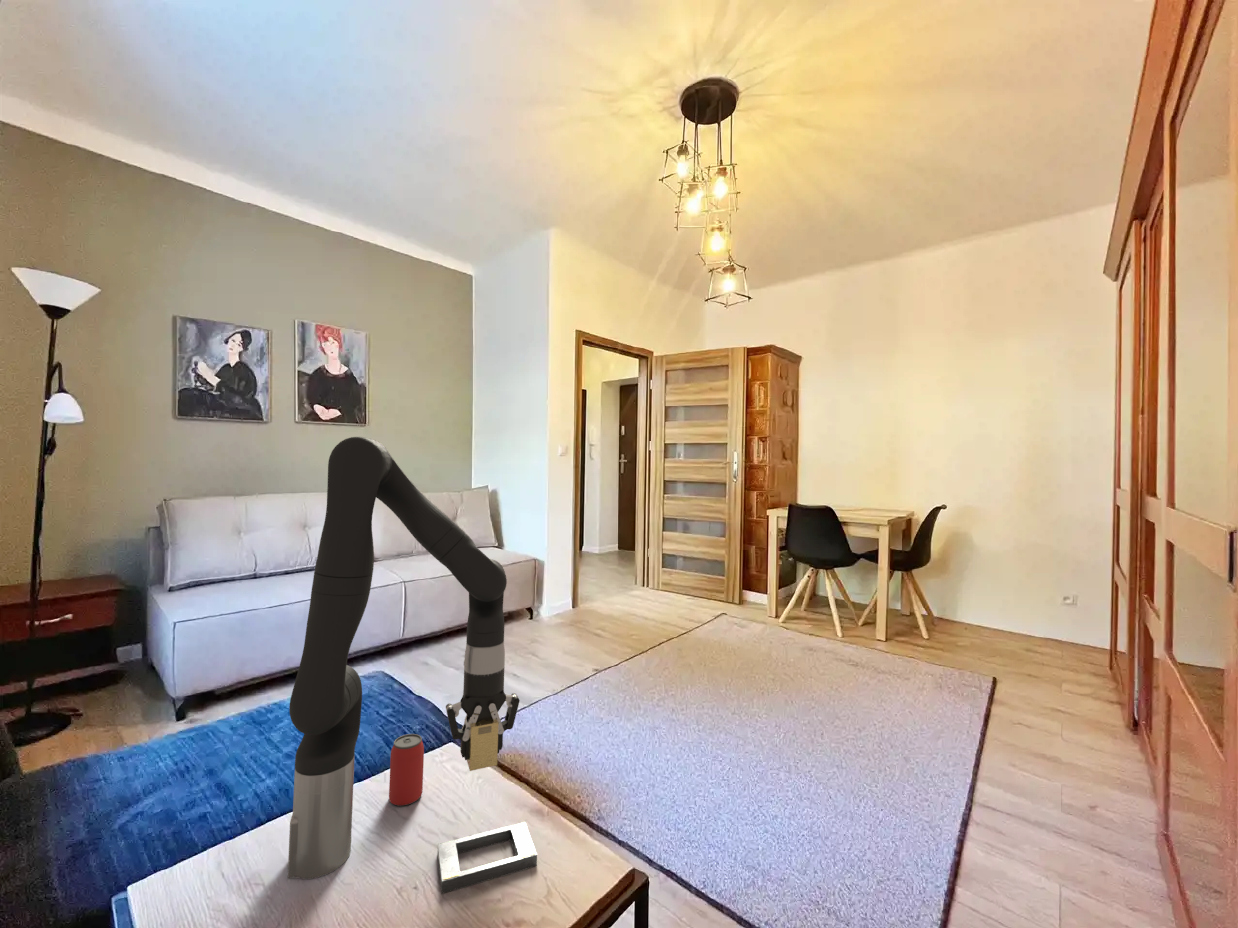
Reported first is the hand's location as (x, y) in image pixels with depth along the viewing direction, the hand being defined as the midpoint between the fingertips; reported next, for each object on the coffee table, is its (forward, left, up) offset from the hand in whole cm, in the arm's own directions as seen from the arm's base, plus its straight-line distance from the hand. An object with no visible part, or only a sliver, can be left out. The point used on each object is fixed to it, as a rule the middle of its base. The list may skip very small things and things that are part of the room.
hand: (481, 754), depth 96 cm
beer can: (-13, +17, -16) cm, 27 cm away
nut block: (0, 0, -1) cm, 1 cm away
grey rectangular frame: (0, -7, -15) cm, 17 cm away
